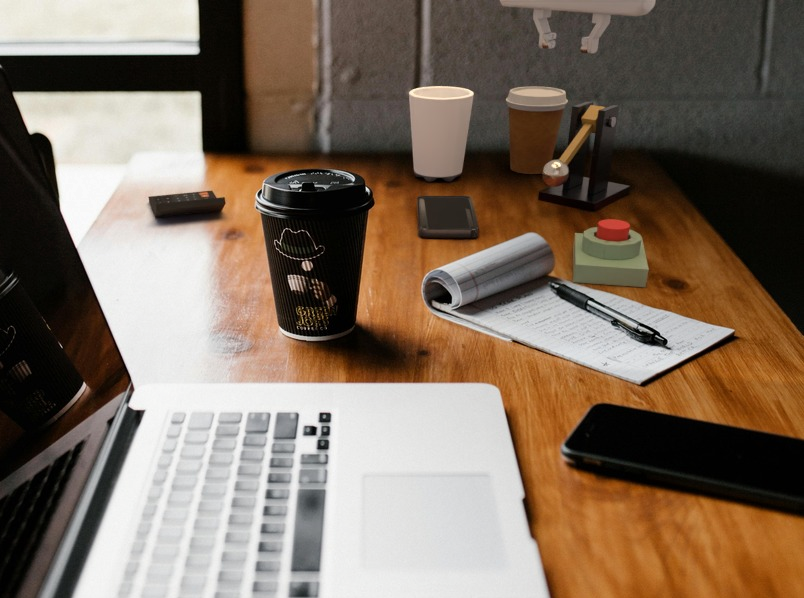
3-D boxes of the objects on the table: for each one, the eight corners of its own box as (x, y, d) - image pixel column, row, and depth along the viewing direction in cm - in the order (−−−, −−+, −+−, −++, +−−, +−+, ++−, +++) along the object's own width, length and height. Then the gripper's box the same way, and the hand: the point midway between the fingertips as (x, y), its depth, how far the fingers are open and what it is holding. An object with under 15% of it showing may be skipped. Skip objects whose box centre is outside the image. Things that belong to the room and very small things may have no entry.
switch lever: (562, 194, 118) (558, 174, 115) (539, 189, 120) (535, 169, 117) (611, 124, 122) (609, 103, 119) (588, 121, 124) (585, 100, 121)
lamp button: (628, 244, 99) (631, 229, 98) (596, 242, 99) (598, 227, 99) (626, 234, 102) (629, 220, 101) (595, 232, 102) (597, 218, 102)
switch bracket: (593, 211, 121) (606, 117, 114) (537, 199, 126) (547, 108, 119) (629, 193, 128) (643, 103, 121) (574, 183, 133) (585, 96, 126)
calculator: (212, 196, 129) (210, 176, 127) (227, 219, 119) (225, 198, 117) (149, 202, 126) (146, 181, 125) (158, 226, 117) (155, 204, 115)
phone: (418, 229, 111) (417, 195, 124) (418, 237, 112) (416, 202, 124) (480, 230, 111) (472, 195, 123) (479, 238, 111) (471, 203, 124)
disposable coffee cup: (547, 180, 134) (556, 99, 128) (490, 172, 139) (496, 93, 132) (568, 166, 141) (577, 89, 135) (514, 158, 146) (520, 83, 139)
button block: (645, 287, 97) (651, 253, 95) (573, 282, 99) (577, 249, 97) (639, 254, 106) (644, 222, 104) (572, 249, 108) (576, 218, 106)
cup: (444, 165, 142) (448, 83, 136) (481, 179, 135) (487, 93, 129) (394, 173, 138) (396, 90, 131) (430, 188, 131) (433, 101, 124)
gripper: (676, -75, 99) (655, 55, 106) (522, -77, 110) (512, 40, 117) (652, -74, 94) (632, 61, 102) (495, -76, 106) (487, 46, 113)
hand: (567, 50), depth 110 cm, fingers open, 5 cm apart
